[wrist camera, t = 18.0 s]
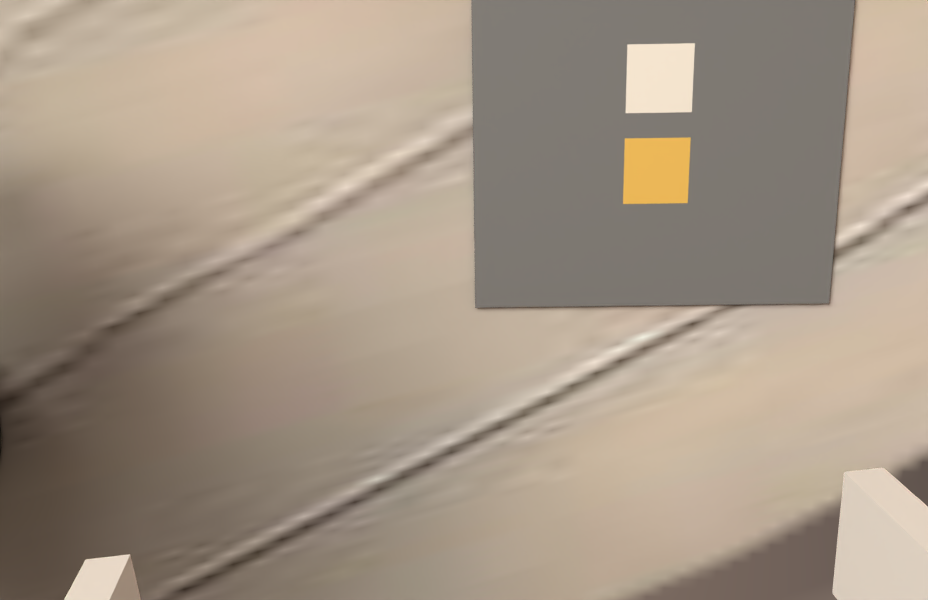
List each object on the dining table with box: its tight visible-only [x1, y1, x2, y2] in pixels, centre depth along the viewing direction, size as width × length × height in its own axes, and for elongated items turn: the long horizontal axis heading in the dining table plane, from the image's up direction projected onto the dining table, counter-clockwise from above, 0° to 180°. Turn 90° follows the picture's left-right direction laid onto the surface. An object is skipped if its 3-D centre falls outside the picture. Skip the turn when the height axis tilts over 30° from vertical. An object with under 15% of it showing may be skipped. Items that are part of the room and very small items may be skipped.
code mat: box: [472, 0, 855, 308], centre depth 40 cm, size 18×18×1 cm
